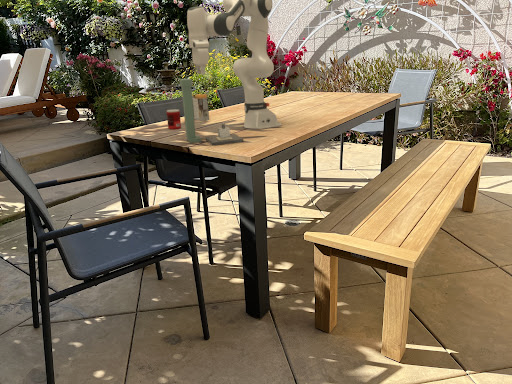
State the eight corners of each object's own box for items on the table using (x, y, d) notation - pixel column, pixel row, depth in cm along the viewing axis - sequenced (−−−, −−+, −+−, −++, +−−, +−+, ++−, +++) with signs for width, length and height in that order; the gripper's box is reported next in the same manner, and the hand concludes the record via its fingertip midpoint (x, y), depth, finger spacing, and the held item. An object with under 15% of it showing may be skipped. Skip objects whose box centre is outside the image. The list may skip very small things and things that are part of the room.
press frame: (198, 139, 216) (193, 78, 205) (201, 141, 208) (196, 79, 198) (185, 140, 214) (179, 79, 203) (187, 143, 206) (181, 80, 196)
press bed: (235, 137, 217) (235, 133, 216) (243, 142, 204) (243, 138, 204) (206, 140, 212) (205, 136, 211) (212, 145, 199) (211, 142, 199)
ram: (207, 116, 212) (205, 93, 209) (209, 118, 207) (208, 94, 203) (192, 117, 210) (190, 94, 206) (195, 119, 205) (193, 96, 201)
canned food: (182, 127, 251) (180, 109, 248) (180, 129, 244) (178, 111, 240) (169, 127, 251) (167, 109, 248) (167, 130, 244) (165, 111, 240)
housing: (227, 136, 210) (226, 122, 208) (230, 138, 206) (229, 124, 204) (218, 137, 209) (217, 123, 207) (220, 139, 205) (219, 125, 202)
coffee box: (209, 119, 274) (208, 95, 269) (204, 121, 269) (202, 96, 263) (198, 119, 278) (196, 95, 273) (193, 120, 273) (190, 96, 268)
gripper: (188, 44, 201) (190, 73, 206) (196, 43, 183) (198, 75, 187) (200, 43, 203) (203, 72, 207) (209, 43, 184) (212, 74, 189)
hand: (201, 74), depth 197 cm, fingers open, 8 cm apart
